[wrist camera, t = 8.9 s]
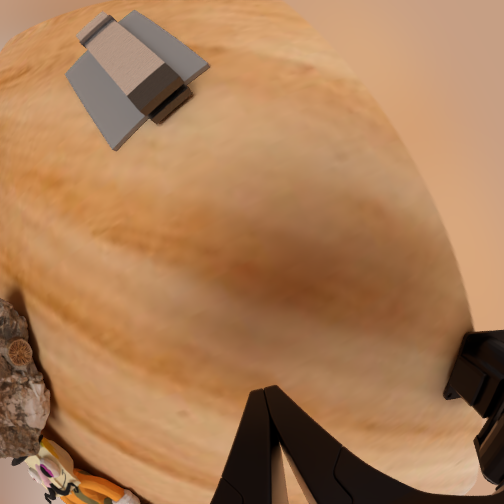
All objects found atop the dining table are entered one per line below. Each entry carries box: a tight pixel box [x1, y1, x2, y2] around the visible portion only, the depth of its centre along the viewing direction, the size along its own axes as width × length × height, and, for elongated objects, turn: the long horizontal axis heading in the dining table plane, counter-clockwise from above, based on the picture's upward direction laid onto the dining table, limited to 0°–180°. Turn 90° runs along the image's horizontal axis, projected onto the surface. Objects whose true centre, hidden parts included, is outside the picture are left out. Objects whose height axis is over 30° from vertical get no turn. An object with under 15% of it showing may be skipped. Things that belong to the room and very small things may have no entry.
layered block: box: [76, 11, 193, 124], centre depth 16 cm, size 3×4×15 cm
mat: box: [65, 10, 210, 151], centre depth 18 cm, size 14×10×1 cm
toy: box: [12, 434, 140, 504], centre depth 19 cm, size 17×10×30 cm
